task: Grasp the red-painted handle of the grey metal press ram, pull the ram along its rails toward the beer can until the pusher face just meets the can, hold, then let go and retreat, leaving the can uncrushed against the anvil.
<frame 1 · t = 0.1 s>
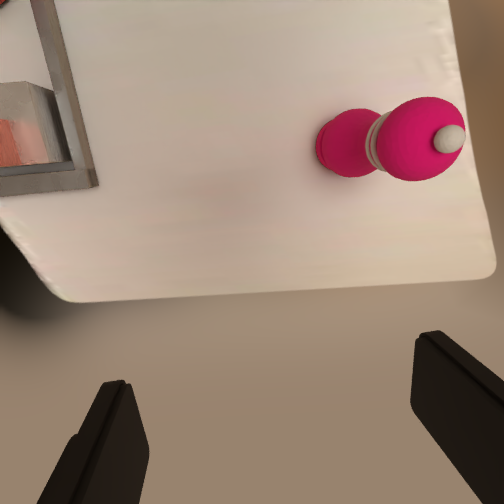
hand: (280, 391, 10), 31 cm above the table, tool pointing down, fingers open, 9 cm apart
pepper mill: (339, 144, 38), on the table
press frame: (3, 54, 32), on the table
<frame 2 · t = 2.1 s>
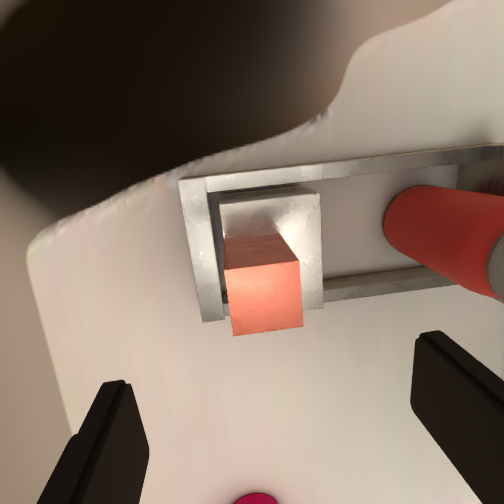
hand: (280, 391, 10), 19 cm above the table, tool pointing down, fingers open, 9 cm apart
ram: (275, 260, 22), point 6 cm above the table, slide at 0.0 cm
beer can: (412, 218, 29), resting in press frame
press frame: (342, 228, 29), on the table
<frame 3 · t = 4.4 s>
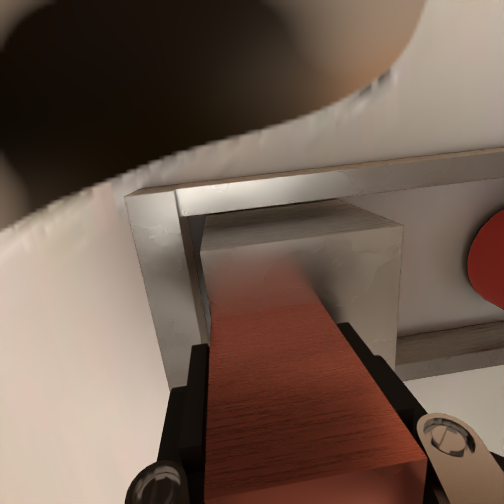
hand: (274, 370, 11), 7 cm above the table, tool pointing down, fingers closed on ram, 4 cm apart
ram: (309, 350, 12), point 6 cm above the table, slide at 0.0 cm, touching gripper
press frame: (402, 266, 18), on the table
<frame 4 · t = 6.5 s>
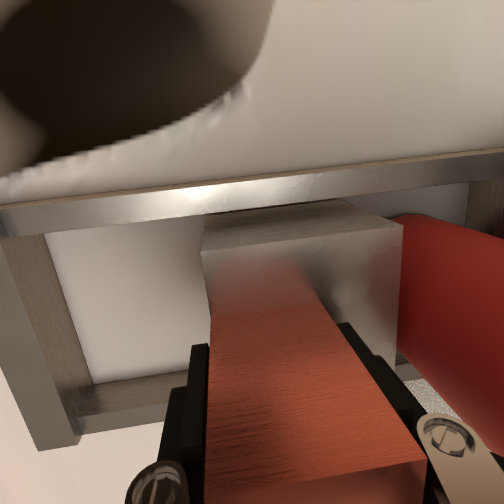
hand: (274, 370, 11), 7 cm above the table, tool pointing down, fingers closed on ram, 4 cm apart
ram: (309, 350, 12), point 6 cm above the table, slide at 7.3 cm, touching gripper
beer can: (396, 265, 18), resting in press frame
press frame: (282, 282, 18), on the table
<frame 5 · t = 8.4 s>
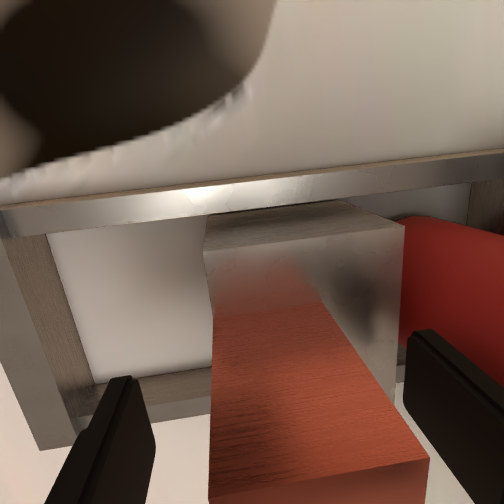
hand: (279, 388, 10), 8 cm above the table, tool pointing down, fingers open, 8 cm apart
ram: (311, 350, 12), point 6 cm above the table, slide at 7.3 cm
beer can: (399, 267, 18), resting in press frame, touching gripper
press frame: (283, 283, 18), on the table
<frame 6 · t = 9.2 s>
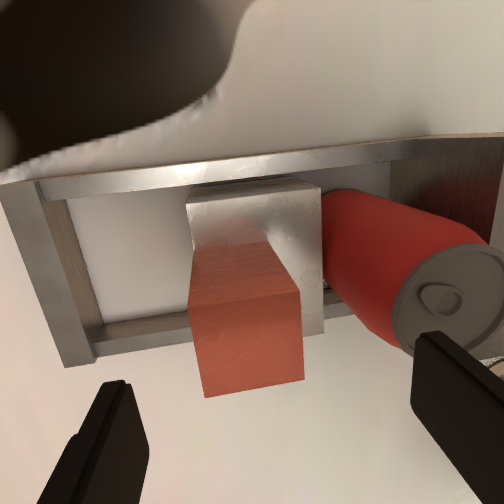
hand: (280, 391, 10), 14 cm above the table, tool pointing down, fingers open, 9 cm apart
ram: (262, 275, 17), point 6 cm above the table, slide at 7.3 cm
beer can: (336, 229, 24), resting in press frame
press frame: (250, 241, 23), on the table
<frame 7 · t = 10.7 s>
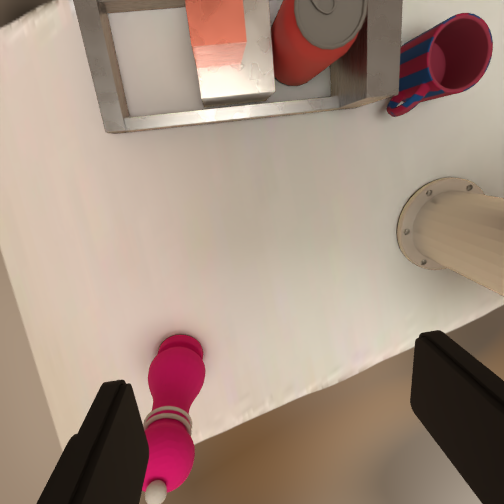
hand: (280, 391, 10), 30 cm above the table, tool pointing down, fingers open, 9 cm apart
ram: (232, 38, 27), point 6 cm above the table, slide at 7.3 cm
mug: (403, 82, 36), on the table
beer can: (292, 54, 34), resting in press frame
pepper mill: (181, 351, 44), on the table
press frame: (231, 58, 33), on the table
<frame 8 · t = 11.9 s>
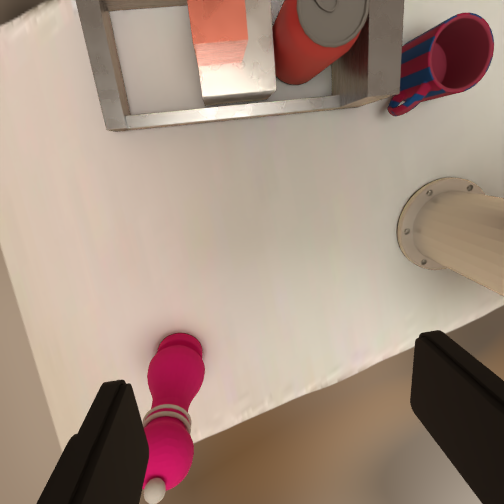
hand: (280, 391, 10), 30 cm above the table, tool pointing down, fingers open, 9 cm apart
ram: (234, 37, 27), point 6 cm above the table, slide at 7.3 cm
mug: (405, 82, 36), on the table
beer can: (294, 53, 34), resting in press frame
pepper mill: (180, 350, 44), on the table
press frame: (232, 57, 33), on the table
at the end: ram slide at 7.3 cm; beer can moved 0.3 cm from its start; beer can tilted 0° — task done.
